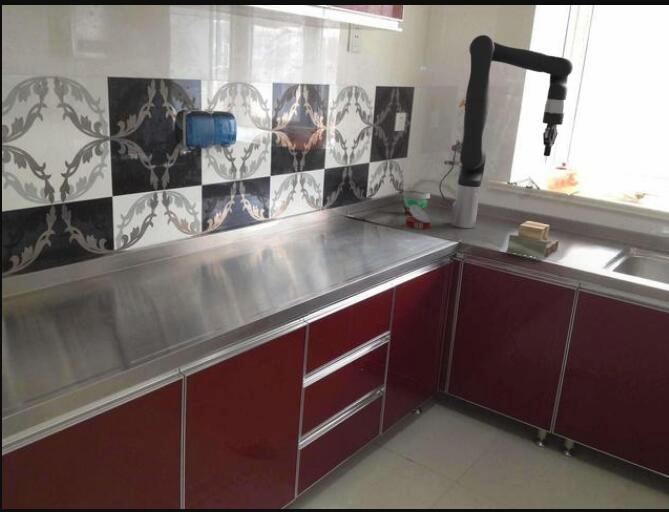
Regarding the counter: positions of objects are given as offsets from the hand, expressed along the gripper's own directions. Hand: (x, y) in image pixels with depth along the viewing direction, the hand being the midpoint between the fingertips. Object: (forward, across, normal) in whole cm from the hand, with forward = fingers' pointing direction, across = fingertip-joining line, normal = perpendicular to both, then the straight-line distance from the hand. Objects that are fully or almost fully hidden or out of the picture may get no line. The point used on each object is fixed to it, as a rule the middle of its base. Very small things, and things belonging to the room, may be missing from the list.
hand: (546, 155), depth 256 cm
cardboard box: (+29, +32, +8) cm, 44 cm away
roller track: (+32, +29, +8) cm, 44 cm away
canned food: (+32, +29, -39) cm, 58 cm away
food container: (+32, +10, -50) cm, 60 cm away
